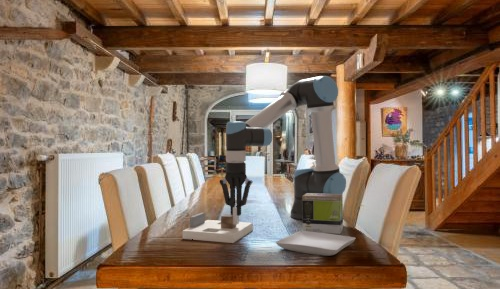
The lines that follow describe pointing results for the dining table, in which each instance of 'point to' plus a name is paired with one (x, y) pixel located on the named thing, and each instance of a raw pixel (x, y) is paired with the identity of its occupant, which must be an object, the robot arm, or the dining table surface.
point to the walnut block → (227, 221)
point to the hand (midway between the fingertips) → (235, 223)
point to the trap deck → (214, 230)
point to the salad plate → (315, 243)
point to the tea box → (322, 213)
